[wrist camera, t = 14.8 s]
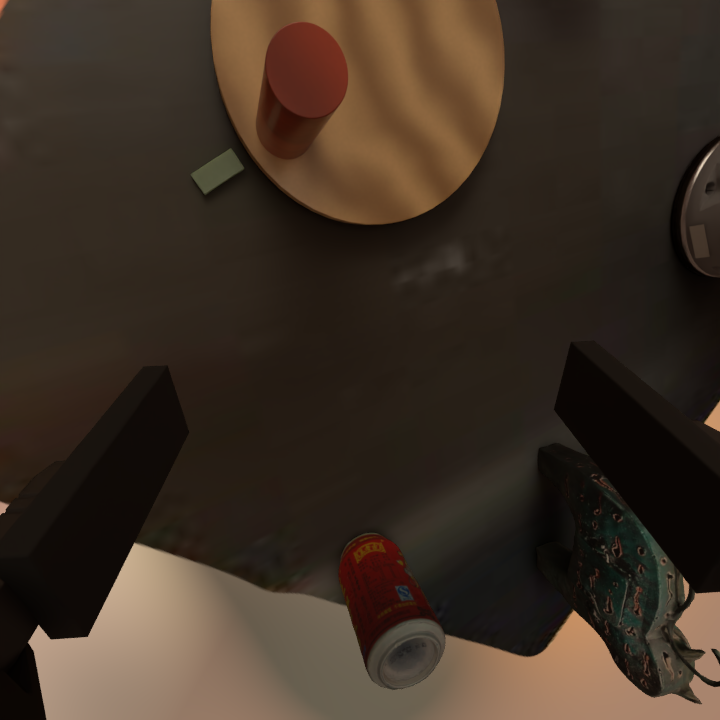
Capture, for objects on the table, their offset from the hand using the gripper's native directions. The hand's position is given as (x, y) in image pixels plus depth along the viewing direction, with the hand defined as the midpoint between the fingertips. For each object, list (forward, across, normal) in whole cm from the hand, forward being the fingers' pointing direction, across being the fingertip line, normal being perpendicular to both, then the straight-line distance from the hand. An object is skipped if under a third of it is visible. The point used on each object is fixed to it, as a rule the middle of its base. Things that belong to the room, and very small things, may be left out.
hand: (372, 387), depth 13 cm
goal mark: (+22, +10, -5) cm, 25 cm away
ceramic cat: (+22, -22, +34) cm, 46 cm away
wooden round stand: (+26, -2, -11) cm, 28 cm away
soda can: (+16, 0, +33) cm, 36 cm away
